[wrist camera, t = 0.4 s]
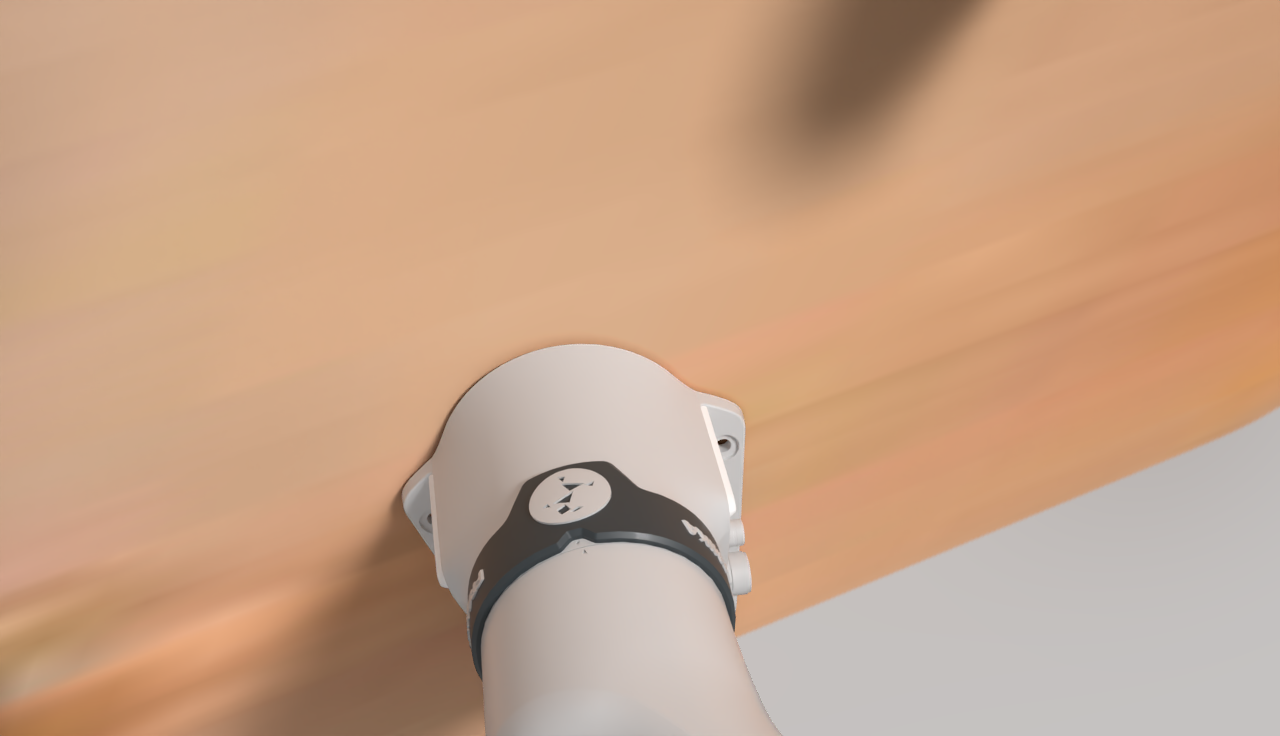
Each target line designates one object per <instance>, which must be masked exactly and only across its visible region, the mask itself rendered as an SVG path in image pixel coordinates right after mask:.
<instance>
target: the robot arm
mask: <svg viewBox="0 0 1280 736" xmlns="http://www.w3.org/2000/svg"><path fill="white" fill-rule="evenodd" d="M721 439H727V442H726V443H724V444H721V445H718V441H719V440H721ZM744 447H745V422H744V417H743V413H742V410H741V409H740V408H739V406H737V405H736V404H735V403H733V402H731V401H729V400H726V399H723V398H720V397H717V396H713V395H710V394H706V393H702V392H698V391H695V390H693V389H691V388H689V387H688V386H686V385H685V384H683V383H682V382H681V381H679V380H678V379H677V378H676V377H674V376H673V375H672V374H671V373H669V372H668V371H667V370H666V369H664V368H663V367H661V366H660V365H658V364H657V363H655V362H653V361H651V360H649V359H647V358H645V357H643V356H641V355H638V354H636V353H633V352H630V351H627V350H624V349H620V348H616V347H611V346H605V345H596V344H570V345H560V346H554V347H549V348H544V349H540V350H537V351H533V352H530V353H527V354H525V355H522V356H520V357H517V358H515V359H513V360H511V361H509V362H507V363H505V364H503V365H501V366H500V367H498V368H496V369H495V370H493V371H492V372H490V373H489V374H487V375H486V376H485V377H483V378H482V379H481V380H480V381H479V382H477V383H476V384H475V385H474V386H473V387H472V388H471V389H470V390H469V391H468V392H467V393H466V394H465V396H464V397H463V398H462V399H461V401H460V402H459V403H458V405H457V406H456V408H455V409H454V411H453V412H452V414H451V416H450V418H449V420H448V422H447V424H446V426H445V429H444V432H443V434H442V437H441V440H440V442H439V445H438V447H437V449H436V451H435V453H434V455H433V456H432V458H431V459H430V460H429V461H427V462H426V463H425V464H424V465H423V466H422V467H421V468H420V469H419V470H418V471H417V472H416V473H415V474H414V475H413V476H412V477H411V478H410V479H409V481H408V482H407V483H406V485H405V487H404V488H403V491H402V501H403V508H404V511H405V513H406V515H407V516H408V518H409V519H410V521H411V522H412V524H413V525H414V526H415V528H416V529H417V531H418V532H419V534H420V535H421V537H422V538H423V539H424V541H425V542H426V544H427V545H428V547H429V548H430V550H431V551H432V553H433V554H434V555H435V561H436V572H437V577H438V581H439V583H440V586H441V587H444V588H449V590H450V592H451V594H452V596H453V597H454V599H455V600H456V602H457V603H458V604H459V606H460V607H461V608H462V609H463V611H464V612H465V613H466V614H467V616H466V620H467V634H468V640H469V644H470V648H471V650H472V656H473V661H474V665H475V668H476V671H477V673H478V674H479V676H480V678H481V680H482V682H483V699H484V719H485V736H782V734H781V733H780V732H779V730H778V729H777V728H776V726H775V725H774V723H773V722H772V720H771V719H770V717H769V715H768V713H767V711H766V710H765V707H764V705H763V703H762V701H761V699H760V696H759V694H758V692H757V690H756V688H755V685H754V683H753V681H752V678H751V676H750V673H749V671H748V669H747V666H746V664H745V661H744V659H743V656H742V653H741V650H740V648H739V645H738V642H737V639H736V637H735V634H734V631H735V619H736V616H735V611H736V604H737V595H743V594H748V592H751V586H752V583H751V572H750V566H749V561H748V558H747V555H746V553H745V552H742V551H739V547H740V546H742V545H744V543H745V535H744V528H743V524H742V521H741V507H742V487H743V467H744ZM429 514H431V515H432V516H430V515H429Z"/></svg>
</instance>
